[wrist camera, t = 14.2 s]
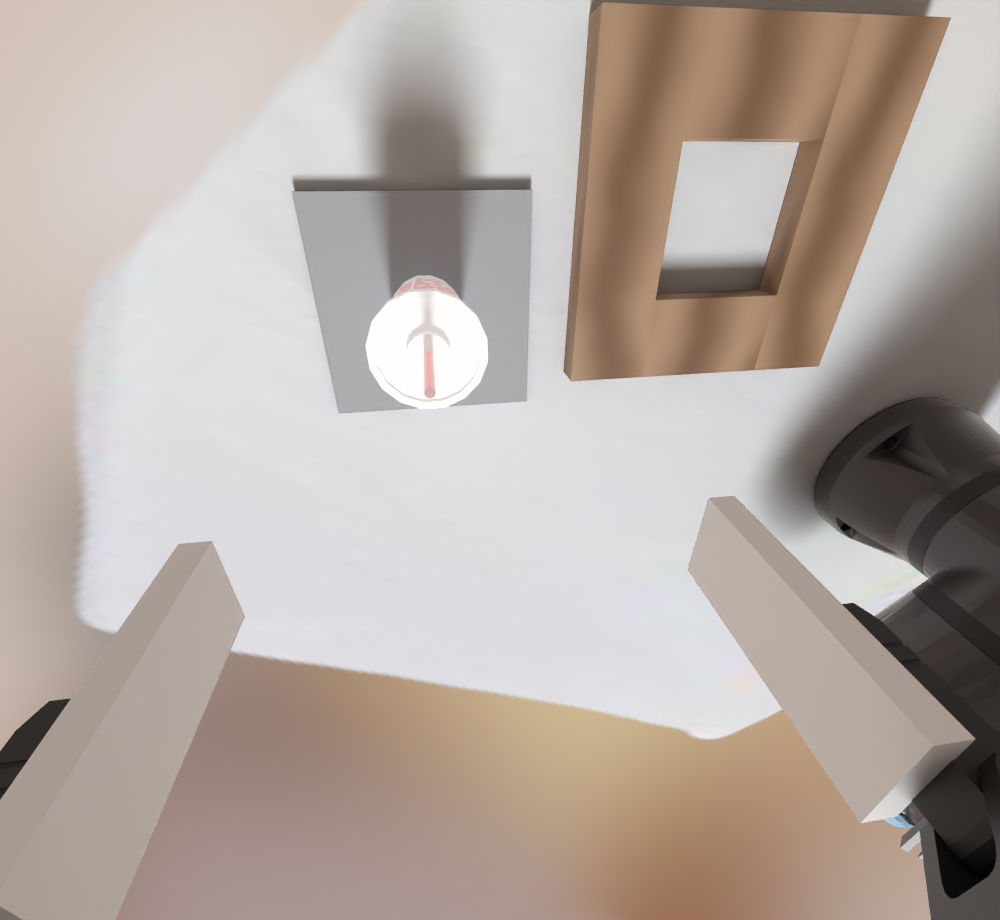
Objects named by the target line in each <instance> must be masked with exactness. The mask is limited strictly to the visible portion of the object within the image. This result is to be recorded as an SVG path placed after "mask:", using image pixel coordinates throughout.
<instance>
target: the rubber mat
mask: <svg viewBox="0 0 1000 920" xmlns="http://www.w3.org/2000/svg"><path fill="white" fill-rule="evenodd" d="M292 194H293V199H294V204H295V209H296V213H297V218H298V223H299V227H300V232H301V237H302V242H303V246H304V251H305V256H306V260H307V265H308V270H309V275H310V279H311V284H312V289H313V294H314V298H315V303H316V308H317V312H318V317H319V322H320V327H321V331H322V336H323V341H324V345H325V350H326V355H327V360H328V364H329V369H330V374H331V378H332V383H333V388H334V393H335V397H336V402H337V407H338V411H339V413H353V412H369V411H384V410H399V409H415V408H417V407H414V406H410V405H407V404H403V403H400V402H399V401H398V400H396V399H395V398H394V397H392V396H391V395H390V394H388V393H387V392H386V391H384V390H383V389H382V388H381V387H380V385H379V383H378V382H377V380H376V379H375V377H374V375H373V374H372V372H371V371H370V369H369V363H368V358H367V352H366V346H365V345H366V342H367V338H368V334H369V330H370V326H371V322H372V320H373V318H374V317H375V316H376V315H377V313H378V312H379V311H380V310H381V309H382V307H383V306H384V305H385V304H386V302H387V301H388V300H389V299H391V298H393V296H394V294H395V293H396V292H397V290H398V289H399V288H400V287H401V285H402V284H403V283H404V282H405V281H407V280H409V279H411V278H413V277H415V276H426V275H431V276H434V277H436V278H439V279H442V280H444V281H445V282H446V283H447V284H448V285H449V286H450V287H451V288H453V289H454V290H455V292H456V293H457V295H458V296H459V298H460V299H461V300H462V301H463V302H464V303H465V304H466V305H467V306H468V307H469V308H470V309H471V310H472V311H473V312H474V313H476V315H477V317H478V319H479V321H480V323H481V326H482V328H483V330H484V332H485V334H486V337H487V339H488V363H487V366H486V368H485V371H484V374H483V376H482V379H481V381H480V383H479V384H478V385H477V386H476V387H475V388H474V389H473V390H472V391H471V392H470V394H469V395H468V396H467V397H466V398H464V399H462V400H460V401H458V402H456V403H454V404H452V405H449V406H461V405H476V404H491V403H506V402H522V401H526V392H527V356H528V320H529V284H530V248H531V212H532V190H405V191H292Z"/></svg>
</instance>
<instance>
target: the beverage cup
mask: <svg viewBox="0 0 1000 920" xmlns="http://www.w3.org/2000/svg"><path fill="white" fill-rule="evenodd" d="M365 346H366V352H367V358H368V363H369V369H370V371H371V372H372V374H373V375H374V377H375V379H376V380H377V382H378V383H379V385H380V387H381V388H382V389H383V390H384V391H386V392H387V393H388V394H390V395H391V396H392V397H394V398H395V399H396V400H398V401H399V402H400V403H403V404H407V405H410V406H414V407H417V408H420V409H431V408H445V407H447V406H449V405H452V404H454V403H456V402H458V401H460V400H462V399H464V398H466V397H467V396H468V395H469V394H470V392H471V391H472V390H473V389H474V388H475V387H476V386H477V385H478V384H479V383H480V381H481V379H482V376H483V374H484V371H485V368H486V366H487V363H488V339H487V337H486V334H485V332H484V330H483V328H482V326H481V323H480V321H479V319H478V317H477V315H476V313H474V312H473V311H472V310H471V309H470V308H469V307H468V306H467V305H466V304H465V303H464V302H463V301H462V300H461V299H460V298H459V296H458V295H457V293H456V292H455V290H454V289H453V288H451V287H450V286H449V285H448V284H447V283H446V282H445V281H444V280H442V279H439V278H436V277H434V276H431V275H426V276H415V277H413V278H411V279H409V280H407V281H405V282H404V283H403V284H402V285H401V287H400V288H399V289H398V290H397V292H396V293H395V294H394V296H393V298H391V299H389V300H388V301H387V302H386V304H385V305H384V306H383V307H382V309H381V310H380V311H379V312H378V313H377V315H376V316H375V317H374V318H373V320H372V322H371V326H370V330H369V334H368V338H367V342H366V345H365Z"/></svg>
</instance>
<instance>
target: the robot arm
mask: <svg viewBox="0 0 1000 920" xmlns="http://www.w3.org/2000/svg"><path fill="white" fill-rule="evenodd" d="M814 499H815V506H816V509H817V511H818V513H819V515H820V516H821V517H822V518H823V519H824V520H825V521H826V522H828V523H829V524H830V525H831V526H832V527H834V528H835V529H836V530H837V531H838V532H840V533H841V534H843V535H845V536H847V537H849V538H851V539H854V540H856V541H858V542H861V543H863V544H866V545H868V546H870V547H873V548H875V549H878V550H880V551H882V552H885V553H887V554H890V555H892V556H894V557H897V558H899V559H902V560H904V561H906V562H908V563H909V564H910V565H912V566H913V567H914V568H916V569H917V570H918V571H920V572H921V573H922V574H923V575H925V576H926V577H927V578H928V580H926V581H925V582H923V583H922V584H921V585H919V586H918V587H916V588H915V589H913V590H912V591H910V592H909V593H907V594H906V595H904V596H903V597H902V598H900V599H899V600H897V601H896V602H894V603H893V604H891V605H890V606H889V607H887V608H886V609H884V610H883V611H881V612H880V613H878V614H877V615H876V616H873V615H871V614H870V613H868V612H867V611H865V610H864V609H862V608H860V607H859V606H857V605H856V604H854V603H849V604H841V603H840V602H839V601H838V600H837V599H836V598H835V597H834V596H833V595H832V594H831V593H830V592H829V591H828V590H827V589H826V588H825V587H824V586H823V585H822V584H821V583H820V582H819V581H818V580H817V579H816V578H815V577H814V576H813V575H812V574H811V573H810V572H809V571H808V570H807V569H806V568H805V567H804V566H803V565H802V564H801V563H800V562H799V561H798V560H797V559H796V558H795V557H794V556H793V555H792V554H791V553H790V552H789V551H788V550H787V549H786V548H785V547H784V546H783V545H782V544H781V543H780V542H779V541H778V540H777V539H776V538H775V537H774V536H773V535H772V534H771V533H770V532H769V531H768V530H767V529H766V528H765V527H764V526H763V525H762V524H761V523H760V522H759V521H758V520H757V519H756V517H755V516H754V515H753V514H752V513H751V512H750V511H749V510H748V509H747V508H746V507H745V506H744V505H743V504H742V503H741V502H740V501H739V500H738V499H737V498H736V497H735V496H727V497H716V498H709V499H708V502H707V506H706V509H705V513H704V516H703V519H702V523H701V526H700V529H699V533H698V536H697V540H696V543H695V546H694V550H693V553H692V557H691V560H690V563H689V567H688V571H689V572H690V574H691V575H692V577H693V578H694V580H695V581H696V583H697V584H698V585H699V587H700V588H701V590H702V591H703V593H704V594H705V596H706V597H707V599H708V600H709V602H710V603H711V605H712V606H713V608H714V609H715V610H716V612H717V613H718V615H719V616H720V618H721V619H722V621H723V622H724V624H725V625H726V627H727V628H728V630H729V631H730V632H731V634H732V635H733V637H734V638H735V640H736V641H737V643H738V644H739V646H740V647H741V649H742V650H743V652H744V653H745V655H746V656H747V657H748V659H749V660H750V662H751V663H752V665H753V666H754V668H755V669H756V671H757V672H758V674H759V675H760V677H761V678H762V679H763V681H764V682H765V684H766V685H767V687H768V688H769V690H770V691H771V693H772V694H773V696H774V697H775V699H776V700H777V701H778V703H779V704H780V706H781V707H782V709H783V710H784V712H785V713H786V715H787V716H788V717H789V719H790V721H791V722H792V724H793V725H794V726H795V727H796V729H797V731H798V732H799V733H800V735H801V737H802V738H803V740H804V741H805V743H806V744H807V745H808V747H809V748H810V750H811V751H812V753H813V754H814V756H815V757H816V759H817V760H818V761H819V763H820V765H821V766H822V768H823V769H824V771H825V772H826V773H827V775H828V776H829V778H830V779H831V781H832V782H833V784H834V785H835V787H836V788H837V790H838V791H839V793H840V794H841V795H842V797H843V798H844V800H845V801H846V803H847V804H848V806H849V807H850V809H851V810H852V812H853V813H854V815H855V816H856V818H857V819H858V820H859V822H860V823H864V822H870V821H875V820H881V819H884V820H885V821H887V822H889V823H890V824H892V825H894V826H897V827H907V828H911V829H910V830H909V831H908V832H907V833H906V834H905V835H903V836H902V840H901V847H900V848H901V849H903V850H905V851H907V852H908V851H909V850H910V849H911V848H913V847H914V846H915V845H916V844H917V843H918V842H920V841H921V845H922V852H921V853H920V854H919V856H918V857H919V858H920V859H922V860H923V861H924V869H925V876H926V883H927V891H928V899H929V907H930V913H931V920H1000V435H999V434H998V433H997V432H996V431H995V430H994V429H993V428H992V427H991V426H990V425H988V424H987V423H986V422H985V421H984V420H983V419H982V418H981V417H980V416H978V415H977V414H975V413H974V412H972V411H970V410H968V409H966V408H964V407H961V406H959V405H956V404H954V403H952V402H949V401H946V400H943V399H938V398H922V399H916V400H911V401H907V402H904V403H901V404H898V405H896V406H893V407H891V408H889V409H887V410H885V411H883V412H881V413H879V414H877V415H876V416H874V417H872V418H871V419H869V420H868V421H866V422H865V423H864V424H862V425H861V426H860V427H858V428H857V429H856V430H855V431H853V432H852V433H851V434H850V435H849V436H848V437H847V438H846V439H845V440H844V441H843V442H842V443H841V444H840V445H839V446H838V447H837V449H836V450H835V451H834V452H833V454H832V455H831V456H830V458H829V459H828V461H827V462H826V464H825V465H824V467H823V469H822V471H821V473H820V475H819V478H818V480H817V484H816V488H815V495H814ZM244 617H245V616H244V614H243V611H242V609H241V607H240V604H239V602H238V600H237V598H236V595H235V593H234V591H233V588H232V586H231V584H230V582H229V579H228V577H227V575H226V572H225V570H224V568H223V565H222V563H221V561H220V559H219V556H218V554H217V552H216V549H215V547H214V545H213V542H212V541H209V542H197V543H186V544H178V546H177V547H176V549H175V550H174V552H173V553H172V554H171V556H170V557H169V559H168V560H167V562H166V563H165V565H164V566H163V567H162V569H161V570H160V572H159V573H158V575H157V576H156V577H155V579H154V580H153V582H152V583H151V585H150V586H149V587H148V589H147V590H146V592H145V593H144V595H143V596H142V597H141V599H140V600H139V602H138V603H137V605H136V606H135V608H134V609H133V610H132V612H131V613H130V615H129V616H128V618H127V619H126V620H125V622H124V623H123V625H122V626H121V628H120V629H119V630H118V632H117V633H116V635H115V636H114V638H113V639H112V640H111V642H110V643H109V645H108V646H107V648H106V649H105V651H104V652H103V653H102V655H101V656H100V658H99V659H98V661H97V662H96V664H95V665H94V666H93V668H92V669H91V671H90V672H89V674H88V675H87V676H86V678H85V679H84V681H83V682H82V684H81V685H80V687H79V688H78V690H77V691H76V692H75V694H74V695H73V696H72V698H71V699H63V700H55V701H49V702H48V703H47V704H46V705H45V706H43V707H42V708H41V709H40V710H39V711H38V712H36V713H35V714H34V715H33V716H32V717H31V718H30V719H29V720H27V722H25V723H24V724H23V725H22V726H21V727H20V728H19V729H17V730H16V731H15V732H14V734H13V735H12V737H11V738H10V739H9V740H8V742H7V743H6V744H5V746H4V747H3V748H2V750H1V751H0V920H116V918H117V915H118V913H119V911H120V908H121V906H122V903H123V901H124V899H125V896H126V894H127V892H128V889H129V887H130V885H131V882H132V880H133V878H134V875H135V873H136V870H137V868H138V866H139V864H140V861H141V859H142V857H143V854H144V852H145V849H146V847H147V845H148V842H149V840H150V838H151V835H152V833H153V831H154V828H155V826H156V824H157V821H158V819H159V817H160V814H161V812H162V810H163V807H164V805H165V803H166V800H167V798H168V795H169V793H170V791H171V788H172V786H173V784H174V781H175V779H176V777H177V774H178V772H179V770H180V767H181V765H182V763H183V760H184V758H185V755H186V753H187V750H188V749H189V746H190V744H191V741H192V739H193V737H194V734H195V732H196V729H197V727H198V725H199V722H200V720H201V718H202V715H203V713H204V711H205V708H206V706H207V704H208V702H209V699H210V697H211V694H212V692H213V690H214V687H215V685H216V683H217V680H218V678H219V676H220V673H221V671H222V669H223V666H224V664H225V662H226V659H227V657H228V655H229V652H230V650H231V648H232V645H233V643H234V641H235V638H236V636H237V633H238V631H239V629H240V626H241V624H242V622H243V619H244Z"/></svg>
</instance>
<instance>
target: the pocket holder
mask: <svg viewBox="0 0 1000 920" xmlns="http://www.w3.org/2000/svg"><path fill="white" fill-rule="evenodd" d="M950 19H951V18H947V17H925V16H903V15H880V14H858V13H835V12H813V11H790V10H768V9H745V8H723V7H700V6H678V5H655V4H633V3H610V2H602V3H601V4H600V5H599V6H598V7H597V8H596V9H595V10H594V11H593V12H592V13H591V14H590V17H589V31H588V44H587V58H586V72H585V86H584V100H583V113H582V127H581V141H580V155H579V169H578V182H577V196H576V210H575V224H574V238H573V251H572V265H571V279H570V293H569V307H568V320H567V334H566V348H565V362H564V372H565V374H566V375H567V376H568V378H569V379H570V380H571V381H582V380H599V379H615V378H632V377H648V376H665V375H681V374H698V373H714V372H731V371H747V370H764V369H780V368H797V367H813V366H819V364H820V361H821V359H822V356H823V353H824V351H825V348H826V345H827V343H828V340H829V337H830V335H831V332H832V330H833V327H834V324H835V322H836V319H837V316H838V314H839V311H840V309H841V306H842V303H843V301H844V298H845V295H846V293H847V290H848V288H849V285H850V282H851V280H852V277H853V274H854V272H855V269H856V266H857V264H858V261H859V259H860V256H861V253H862V251H863V248H864V245H865V243H866V240H867V238H868V235H869V232H870V230H871V227H872V224H873V222H874V219H875V216H876V214H877V211H878V209H879V206H880V203H881V201H882V198H883V195H884V193H885V190H886V188H887V185H888V182H889V180H890V177H891V174H892V172H893V169H894V167H895V164H896V161H897V159H898V156H899V153H900V151H901V148H902V145H903V143H904V140H905V138H906V135H907V132H908V130H909V127H910V124H911V122H912V119H913V117H914V114H915V111H916V109H917V106H918V103H919V101H920V98H921V95H922V93H923V90H924V88H925V85H926V82H927V80H928V77H929V74H930V72H931V69H932V67H933V64H934V61H935V59H936V56H937V53H938V51H939V48H940V45H941V43H942V40H943V38H944V35H945V32H946V30H947V27H948V24H949V22H950ZM683 141H747V142H800V145H799V149H798V152H797V156H796V159H795V163H794V167H793V170H792V174H791V177H790V181H789V184H788V188H787V191H786V195H785V198H784V202H783V206H782V209H781V213H780V216H779V220H778V223H777V227H776V230H775V234H774V237H773V241H772V245H771V248H770V252H769V255H768V259H767V262H766V266H765V269H764V273H763V277H762V280H761V284H760V287H759V290H742V291H715V292H688V293H661V294H657V289H658V283H659V277H660V272H661V266H662V260H663V254H664V248H665V242H666V236H667V230H668V224H669V219H670V213H671V207H672V201H673V195H674V189H675V183H676V177H677V171H678V165H679V160H680V154H681V148H682V142H683Z"/></svg>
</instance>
